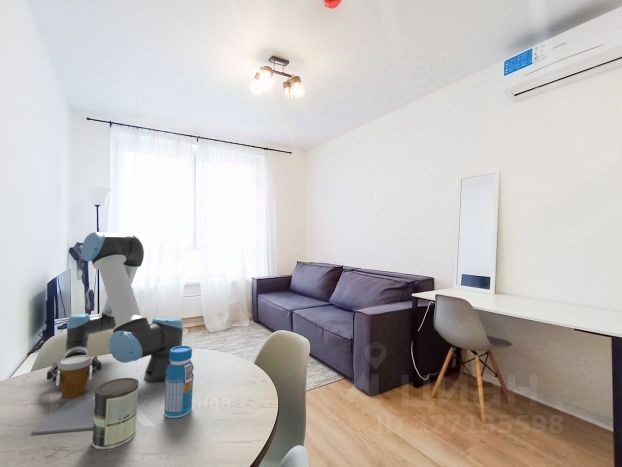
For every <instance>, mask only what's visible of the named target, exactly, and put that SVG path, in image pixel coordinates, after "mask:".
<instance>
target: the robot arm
mask: <svg viewBox="0 0 622 467" xmlns="http://www.w3.org/2000/svg"><path fill="white" fill-rule="evenodd" d="M144 249H145V248H144V245H143V243H142V242H141V240H140V239H139V238H138V237H137V236H136V235H133V234H131V233H121V232H120V233H117V232H104V231H99V232H97V231H94V232H93V231H92V232H91V233H88V235H86V237H85V238H84V240H83V242H82V247H81V256H82V259H83V260H84V261H86V262H91V263H92V267H93V268H94V269H96V270H98V272H99V274H100V277H101V280H102V283H103V288H104V289H105V292H106V297H107V298H106V299H105V304H104V305H103V308H102V312H101V314H99V315H94V316H90V314H89V313H76V314H71V315H70V316H68V318H67V323H66V341H65V353H64V358H63V359H66V358H69V357H73V356H80V355H87V356H89V355H88V352H89V351H88V348H89V335H93V334H97V333H102V332H106V331H107V332H108V331H111V330H112V334H111V335H110V337H109V341H108V342H109V343H108V348H109V351H110V354H111V355H112V357H113V359H115V360H116V361H118V362H119V363H121V364H122V363H124V364H127V363H130V362H136V361H138V360H140V359H143V358H145V357H149V356H150V358H149V361H148V363H147V365H146V368H145V370H144V378H145V381H148V382H153V383H154V382H155V383H156V382H157V383H158V382H159V383H161V382H165V379H166V377H167V374H166V370H167V367H168V366H169V364H170V363H171V361H170V360H169V352H170V349H172V348H174V347H177V346H183V331H184V328H183V325H184V324H183V320H182V319H181V318H178V317H172V316H171V317H170V316H168V317H167V316H165V317H164V316H162V317H161V316H160V317H154V318H152V320H151V323H149V321H148V318H147V317H145V316H143V315H142V314H141V312H140V308H139V305H138V302H137V299H136V296H135V293H134V290H133V288H132V287H133V286H132V285H133V281H134V279H135V276H136V273H137V271H138V268H140V267H142V264H143V261H144V256H145V250H144ZM91 359H92V362H91V364H90V368H89V373H88V380H92V379H93V374H96V372H97V371H101V370H102V362H101V361H100V360H99V359H98V356H94V357H91ZM59 364H60V362H59V363H57V362H54V363H52V366H51V367H50V368H49V370H48V371H47V372H46V380H52V382H55V386H56V387H57V386H60V383H61V376H60V369H59V367H58V366H59Z"/></svg>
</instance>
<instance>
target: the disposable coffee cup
mask: <svg viewBox="0 0 622 467" xmlns="http://www.w3.org/2000/svg"><path fill="white" fill-rule="evenodd" d="M91 362H92V357H91V356H90V355H88V356H87V355H80V356H73V357H69V358H66V359H64V358H63V359H61V361H60V362H59V366H58V367H59V369H60V385H61V397H62V398H64V399H71V398H76V397H79V396H81V395H84V394H85V392H86V387H87V384H88V383H87V382H88V379H89V368H90V364H91Z"/></svg>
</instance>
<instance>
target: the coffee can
mask: <svg viewBox="0 0 622 467" xmlns="http://www.w3.org/2000/svg"><path fill="white" fill-rule="evenodd" d="M139 383H140V381H139V380H138V379H137V378H134V377H120V378H115V379H111V380H108V381H105V382H103V383H101V384H99V385H98V386H96V387H95V388H94V398H95V407H94V425H93V429H92V441H91V446H92V447H93V448H95V449H97V450H111V449H115V448H118V447H120V446H122V445H125V444H127V443H128V442H130V441H131V440H132V439H133V438H134V437H135V435H136V433H137V430H136V428H137V409H138V395H139V394H138V392H139V385H140V384H139Z"/></svg>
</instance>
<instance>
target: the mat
mask: <svg viewBox="0 0 622 467" xmlns="http://www.w3.org/2000/svg"><path fill="white" fill-rule="evenodd" d="M94 407H95V397H93V398H83V399H82V398H81V399H70V400H68V401H67V402H66V403H65V404H63V406H61V407H59V408H58V410H56V411H55V412H54V413H53V414H51V415H49V417H47V419H46V420H45V421H43V422H42V423H41V424H39V426H37V427H35V429H33V431H32V432H31V436H32V435H41V434H43V435H44V434H53V433H54V434H55V433H66V432H77V431H88V430H93V425H94Z"/></svg>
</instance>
